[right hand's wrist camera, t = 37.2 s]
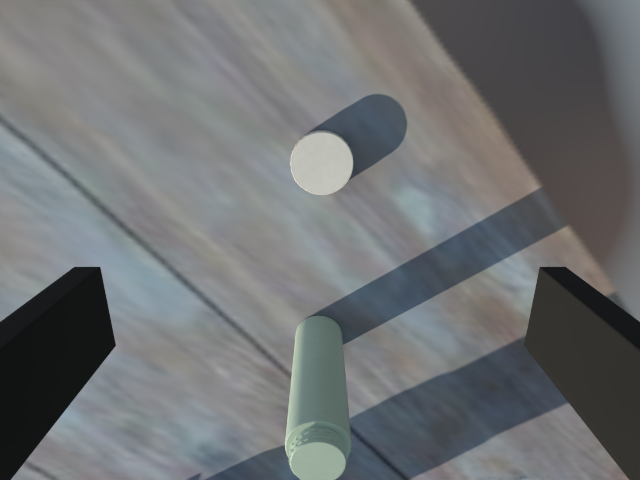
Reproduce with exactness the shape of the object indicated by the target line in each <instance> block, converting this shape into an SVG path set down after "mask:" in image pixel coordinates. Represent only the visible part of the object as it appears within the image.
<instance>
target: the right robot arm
mask: <svg viewBox="0 0 640 480" xmlns="http://www.w3.org/2000/svg"><path fill="white" fill-rule="evenodd" d="M115 346H116V344H115V339H114V334H113V329H112V324H111V319H110V314H109V309H108V304H107V299H106V294H105V289H104V284H103V279H102V274H101V269H100V267H74V268H73V269H71V270H70V271H68V272H67V273H66V274H64V275H63V276H62V277H60V278H59V279H58V280H56V281H55V282H54V283H52V284H51V285H50V286H48V287H47V288H46V289H44V290H43V291H41V292H40V293H39V294H37V295H36V296H35V297H33V298H32V299H31V300H29V301H28V302H27V303H25V304H24V305H23V306H21V307H20V308H19V309H17V310H16V311H15V312H13V313H12V314H10V315H9V316H8V317H6V318H5V319H4V320H2V321H1V322H0V480H11V479H12V477H13V476H14V475H15V473H16V472H17V471H18V470H19V468H20V467H21V466H22V465H23V463H24V462H25V461H26V459H27V458H28V457H29V456H30V454H31V453H32V452H33V451H34V449H35V448H36V447H37V445H38V444H39V443H40V442H41V440H42V439H43V438H44V436H45V435H46V434H47V433H48V431H49V430H50V429H51V428H52V426H53V425H54V424H55V422H56V421H57V420H58V419H59V417H60V416H61V415H62V414H63V412H64V411H65V410H66V408H67V407H68V406H69V405H70V403H71V402H72V401H73V399H74V398H75V397H76V396H77V394H78V393H79V392H80V391H81V389H82V388H83V387H84V385H85V384H86V383H87V382H88V380H89V379H90V378H91V377H92V375H93V374H94V373H95V371H96V370H97V369H98V368H99V366H100V365H101V364H102V363H103V361H104V360H105V359H106V357H107V356H108V355H109V354H110V352H111V351H112V350H113V348H114V347H115ZM524 346H525V347H526V348H527V350H528V351H529V352H530V354H531V355H532V356H533V357H534V359H535V360H536V361H537V363H538V364H539V365H540V366H541V368H542V369H543V370H544V371H545V373H546V374H547V375H548V377H549V378H550V379H551V380H552V382H553V383H554V384H555V385H556V387H557V388H558V389H559V391H560V392H561V393H562V394H563V396H564V397H565V398H566V399H567V401H568V402H569V403H570V405H571V406H572V407H573V408H574V410H575V411H576V412H577V414H578V415H579V416H580V417H581V419H582V420H583V421H584V422H585V424H586V425H587V426H588V428H589V429H590V430H591V431H592V433H593V434H594V435H595V436H596V438H597V439H598V440H599V442H600V443H601V444H602V445H603V447H604V448H605V449H606V451H607V452H608V453H609V454H610V456H611V457H612V458H613V459H614V461H615V462H616V463H617V465H618V466H619V467H620V468H621V470H622V471H623V472H624V473H625V475H626V476H627V477H628V479H629V480H640V322H639V321H638V320H636V319H635V318H634V317H632V316H631V315H630V314H628V313H627V312H625V311H624V310H623V309H621V308H620V307H619V306H617V305H616V304H615V303H613V302H612V301H611V300H609V299H608V298H607V297H605V296H604V295H603V294H601V293H600V292H599V291H597V290H596V289H594V288H593V287H592V286H590V285H589V284H588V283H586V282H585V281H584V280H582V279H581V278H580V277H578V276H577V275H576V274H574V273H573V272H572V271H570V270H569V269H567V268H566V267H540V269H539V274H538V279H537V284H536V289H535V294H534V299H533V304H532V309H531V314H530V319H529V324H528V329H527V334H526V339H525V344H524Z"/></svg>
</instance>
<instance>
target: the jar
mask: <svg viewBox="0 0 640 480" xmlns="http://www.w3.org/2000/svg"><path fill="white" fill-rule="evenodd" d="M351 448H352V444H351V432H350V421H349V409H348V398H347V387H346V375H345V364H344V353H343V341H342V332H341V329H340V327H339V325H338V324H337V323H336V322H335V321H334V320H333V319H331V318H329V317H326V316H320V315H319V316H312V317H309V318H307V319H305V320H304V321H302V322H301V323H300V325H299V326H298V328H297V331H296V337H295V348H294V358H293V368H292V379H291V389H290V399H289V410H288V420H287V430H286V441H285V450H286V453H287V456H288V457H289V465H290V468H291V470H292V471H293V473H294V475H296V476H297V477H298V478H299V479H301V480H335V479H337V478H338V477H339V476H340V475H341V474H342V473H343V471H344V470H345V467H346V462H347V459H348V457H349V455H350V452H351Z"/></svg>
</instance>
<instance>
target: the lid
mask: <svg viewBox="0 0 640 480" xmlns="http://www.w3.org/2000/svg"><path fill="white" fill-rule="evenodd" d="M347 144H348V143H347V142H345V141H344V139H343V137H340V136H339V135H338V134H337V133H336V134H335V133H333V132H331V131H326V130H325V129H324V130H317V131H313V132H312V131H311V132H310V133H308V134H307V135H306V134H305V135H304V137H302V138H300V139H299V142H298V143H296V144H295V148H294V149H293V150H292V152H293V153H292V155H291V157H290V158H291V163H290V165H291V172H292V174H293V177H294V179H295V180H296V182H297V183H298V184H299V185H300V186H301V187H302V188H303V189H305V190H306V191H308V192H310V193H313V194H318V195H326V194H331V193H334V192H336V191H338V190H339V189H341V188H342V187H343V186H344V185H345V184H346V183H347V182H348V180H349V178H350V176H351V174H352V170H353V163H354V161H353V154H352V153H351V151H350V150H351V148H350V147H349V146H348V145H347Z"/></svg>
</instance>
